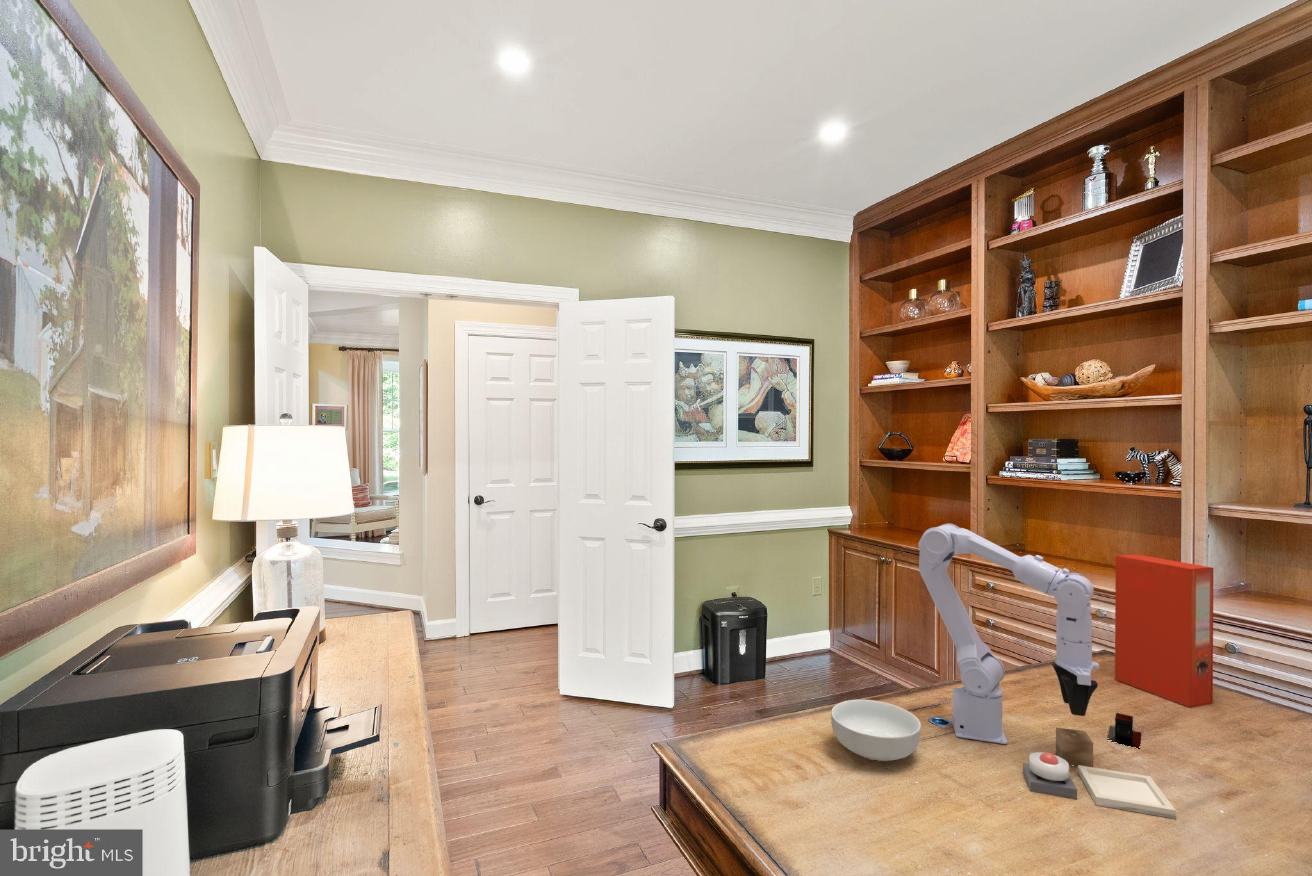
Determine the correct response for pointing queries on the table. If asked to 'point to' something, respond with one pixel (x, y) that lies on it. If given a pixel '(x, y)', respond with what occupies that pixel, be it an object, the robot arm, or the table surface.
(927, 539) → the robot arm
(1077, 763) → the die
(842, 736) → the cereal bowl
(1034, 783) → the grey button base
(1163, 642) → the file binder
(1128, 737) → the black tapered mount
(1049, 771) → the dome
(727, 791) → the table surface
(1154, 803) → the die pad
